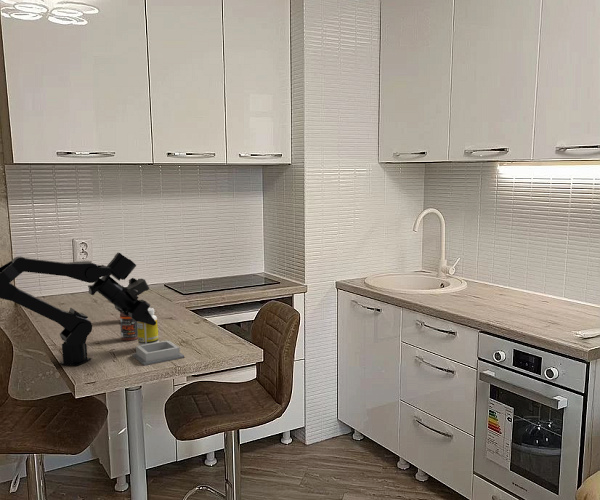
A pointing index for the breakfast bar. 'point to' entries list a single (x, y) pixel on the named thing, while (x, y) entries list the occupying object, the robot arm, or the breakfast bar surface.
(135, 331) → the supplement bottle
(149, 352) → the socket block
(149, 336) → the pill bottle
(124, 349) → the breakfast bar surface
